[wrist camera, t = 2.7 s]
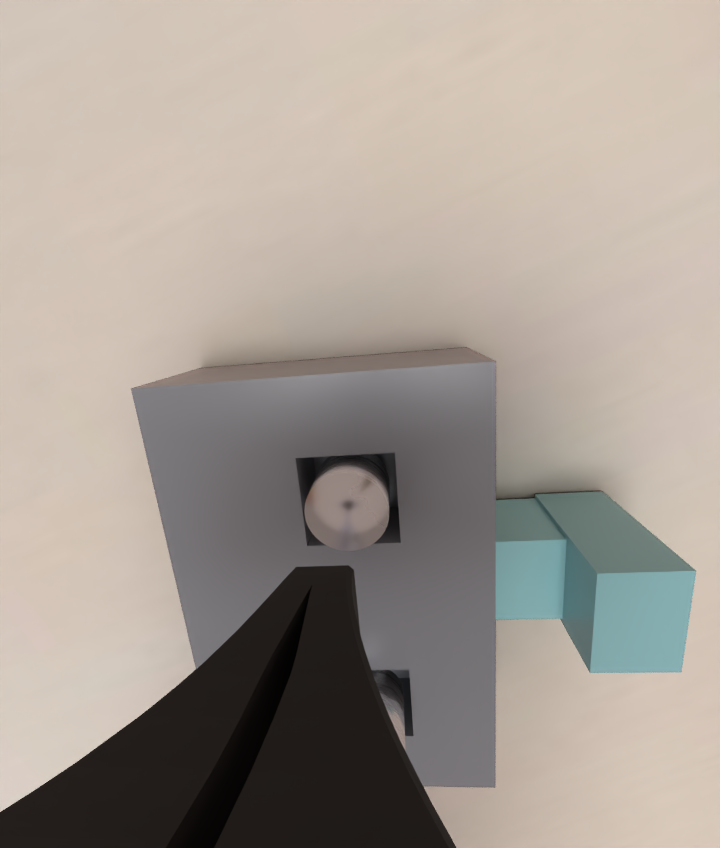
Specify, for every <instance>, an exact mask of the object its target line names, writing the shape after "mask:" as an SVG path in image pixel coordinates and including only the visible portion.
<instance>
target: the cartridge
mask: <svg viewBox="0 0 720 848" xmlns="http://www.w3.org/2000/svg"><path fill="white" fill-rule="evenodd" d="M695 576H696V570H695V569H693V568H692V567H691V566H690V565H689V564H687V563H686V562H685V561H684V560H683V559H682V558H680V557H679V556H678V555H677V554H676V553H675V552H673V551H672V550H671V549H670V548H669V547H667V546H666V545H665V544H664V543H663V542H662V541H660V540H659V539H658V538H657V537H656V536H655V535H653V534H652V533H651V532H650V531H649V530H647V529H646V528H645V527H644V526H643V525H642V524H640V523H639V522H638V521H637V520H636V519H635V518H633V517H632V516H631V515H630V514H629V513H627V512H626V511H625V510H624V509H623V508H622V507H620V506H619V505H618V504H617V503H616V502H615V501H613V500H612V499H611V498H610V497H609V496H607V495H606V494H605V493H604V492H603V491H598V492H576V493H554V494H535V498H530V499H507V500H496V620H512V619H561V621H562V623H563V625H564V627H565V628H566V630H567V632H568V634H569V636H570V637H571V639H572V641H573V643H574V645H575V647H576V648H577V650H578V652H579V654H580V656H581V657H582V659H583V661H584V663H585V665H586V667H587V668H588V670H589V672H590V673H645V672H681V671H682V665H683V658H684V651H685V644H686V637H687V630H688V623H689V617H690V610H691V603H692V596H693V589H694V582H695Z"/></svg>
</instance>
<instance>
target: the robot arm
mask: <svg viewBox="0 0 720 848" xmlns="http://www.w3.org/2000/svg"><path fill="white" fill-rule="evenodd" d="M0 848H456V846H455V844H454V843H453V841H452V839H451V837H450V835H449V834H448V832H447V830H446V828H445V826H444V825H443V823H442V821H441V819H440V817H439V816H438V814H437V812H436V810H435V808H434V807H433V805H432V803H431V801H430V799H429V797H428V795H427V793H426V791H425V789H424V787H423V785H422V783H421V781H420V779H419V777H418V775H417V773H416V771H415V769H414V767H413V765H412V763H411V761H410V759H409V757H408V755H407V753H406V751H405V749H404V747H403V745H402V743H401V741H400V739H399V737H398V734H397V732H396V730H395V728H394V725H393V723H392V721H391V719H390V716H389V714H388V712H387V709H386V707H385V704H384V702H383V699H382V697H381V695H380V692H379V689H378V687H377V684H376V681H375V679H374V676H373V673H372V670H371V667H370V664H369V661H368V658H367V655H366V652H365V649H364V645H363V642H362V639H361V635H360V625H359V616H358V606H357V596H356V586H355V576H354V569H352V568H351V567H350V566H349V565H340V566H308V567H295V568H294V570H293V571H292V572H291V573H290V574H289V575H288V576H287V577H286V578H285V579H284V580H283V581H282V582H281V583H280V585H279V586H278V587H277V588H276V589H275V590H274V591H273V592H272V593H271V595H270V596H269V597H268V598H267V599H266V600H265V601H264V602H263V603H262V604H261V606H260V607H259V608H258V609H257V610H256V611H255V612H254V613H253V614H252V615H251V616H250V617H249V618H248V619H247V620H246V621H245V622H244V623H243V625H242V626H241V627H240V628H239V629H238V630H237V631H236V632H235V633H234V634H233V635H232V636H231V637H230V638H229V639H228V640H227V641H226V642H224V643H223V644H222V645H221V646H220V647H219V648H218V649H217V650H216V651H215V652H214V653H213V654H212V655H211V656H210V657H209V658H208V659H207V660H206V661H205V662H204V663H203V664H202V665H200V666H199V667H198V668H197V669H196V670H195V671H194V672H193V673H192V674H190V675H189V676H188V677H187V678H186V679H185V680H183V681H182V682H181V683H180V684H179V685H178V686H176V687H175V688H174V689H173V690H172V691H170V692H169V693H168V694H167V695H165V696H164V697H163V698H162V699H161V700H159V701H158V702H157V703H156V704H155V705H153V706H152V707H151V708H150V709H148V710H147V711H146V712H144V713H143V714H142V715H141V716H139V717H138V718H137V719H135V720H134V721H132V722H131V723H130V724H128V725H127V726H126V727H124V728H123V729H122V730H120V731H119V732H117V733H116V734H115V735H113V736H112V737H111V738H109V739H108V740H107V741H105V742H104V743H102V744H101V745H100V746H98V747H97V748H96V749H94V750H93V751H92V752H90V753H89V754H87V755H86V756H85V757H83V758H82V759H81V760H79V761H78V762H76V763H75V764H73V765H72V766H70V767H69V768H67V769H66V770H64V771H63V772H61V773H60V774H58V775H57V776H55V777H54V778H52V779H51V780H49V781H48V782H46V783H45V784H43V785H42V786H40V787H39V788H37V789H36V790H34V791H33V792H31V793H30V794H28V795H27V796H25V797H23V798H22V799H20V800H19V801H17V802H16V803H14V804H12V805H11V806H9V807H8V808H6V809H5V810H3V811H1V812H0Z"/></svg>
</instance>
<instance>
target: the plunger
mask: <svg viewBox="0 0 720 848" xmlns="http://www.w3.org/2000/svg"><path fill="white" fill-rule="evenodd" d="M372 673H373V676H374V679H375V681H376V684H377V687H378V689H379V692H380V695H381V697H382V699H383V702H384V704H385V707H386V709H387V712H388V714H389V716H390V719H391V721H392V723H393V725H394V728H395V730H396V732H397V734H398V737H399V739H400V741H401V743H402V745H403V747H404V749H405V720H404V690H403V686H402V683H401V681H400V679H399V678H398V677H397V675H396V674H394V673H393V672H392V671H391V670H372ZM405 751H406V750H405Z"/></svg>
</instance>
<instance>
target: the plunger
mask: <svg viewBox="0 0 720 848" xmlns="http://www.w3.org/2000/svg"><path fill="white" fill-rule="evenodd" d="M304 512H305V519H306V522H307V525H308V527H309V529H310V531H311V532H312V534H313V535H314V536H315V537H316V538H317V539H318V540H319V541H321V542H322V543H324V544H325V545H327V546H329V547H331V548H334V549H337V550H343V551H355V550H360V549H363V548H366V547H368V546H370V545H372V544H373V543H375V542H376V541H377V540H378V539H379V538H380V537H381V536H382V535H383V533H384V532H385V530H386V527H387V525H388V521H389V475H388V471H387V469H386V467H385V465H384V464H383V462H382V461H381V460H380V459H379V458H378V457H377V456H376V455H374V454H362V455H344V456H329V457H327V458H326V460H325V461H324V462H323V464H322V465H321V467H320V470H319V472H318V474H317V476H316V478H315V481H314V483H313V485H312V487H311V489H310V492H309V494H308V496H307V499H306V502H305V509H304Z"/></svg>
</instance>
